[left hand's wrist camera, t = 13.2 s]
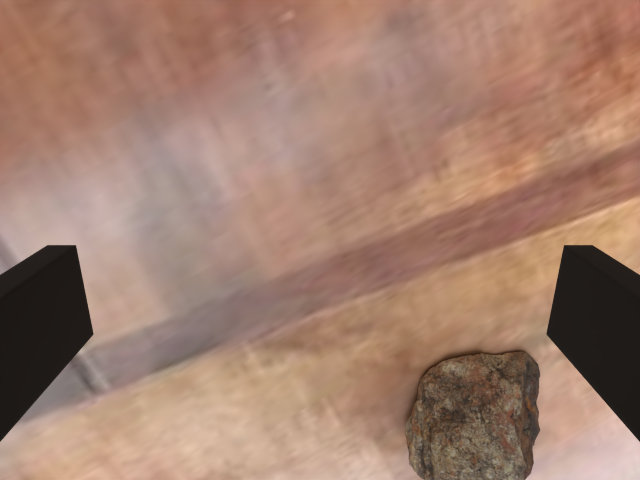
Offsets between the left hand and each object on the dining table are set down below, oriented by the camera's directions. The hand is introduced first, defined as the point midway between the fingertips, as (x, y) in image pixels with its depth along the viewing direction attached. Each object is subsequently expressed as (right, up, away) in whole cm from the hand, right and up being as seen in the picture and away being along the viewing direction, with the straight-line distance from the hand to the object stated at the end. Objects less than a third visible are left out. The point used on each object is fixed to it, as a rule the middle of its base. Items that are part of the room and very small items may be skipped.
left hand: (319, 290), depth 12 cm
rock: (+15, -14, +34) cm, 39 cm away
